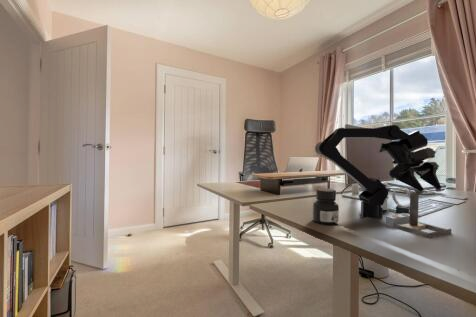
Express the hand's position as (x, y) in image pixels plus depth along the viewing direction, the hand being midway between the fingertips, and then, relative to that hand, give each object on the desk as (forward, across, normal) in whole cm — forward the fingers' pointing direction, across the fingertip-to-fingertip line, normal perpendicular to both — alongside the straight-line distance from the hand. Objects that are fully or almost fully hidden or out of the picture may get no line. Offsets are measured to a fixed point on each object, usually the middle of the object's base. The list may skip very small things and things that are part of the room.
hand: (431, 189), depth 77 cm
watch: (0, +11, +22) cm, 24 cm away
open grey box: (+10, -8, +8) cm, 16 cm away
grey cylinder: (+9, -8, +8) cm, 15 cm away
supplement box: (-7, +6, +29) cm, 30 cm away
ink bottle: (-2, -29, +22) cm, 36 cm away
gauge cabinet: (+7, -8, +12) cm, 16 cm away
